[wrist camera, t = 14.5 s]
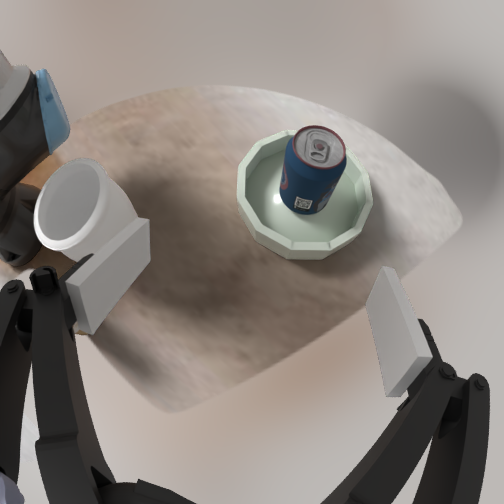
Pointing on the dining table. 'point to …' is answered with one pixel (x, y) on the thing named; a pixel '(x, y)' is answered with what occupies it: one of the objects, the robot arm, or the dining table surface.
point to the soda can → (311, 169)
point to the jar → (81, 209)
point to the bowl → (293, 224)
